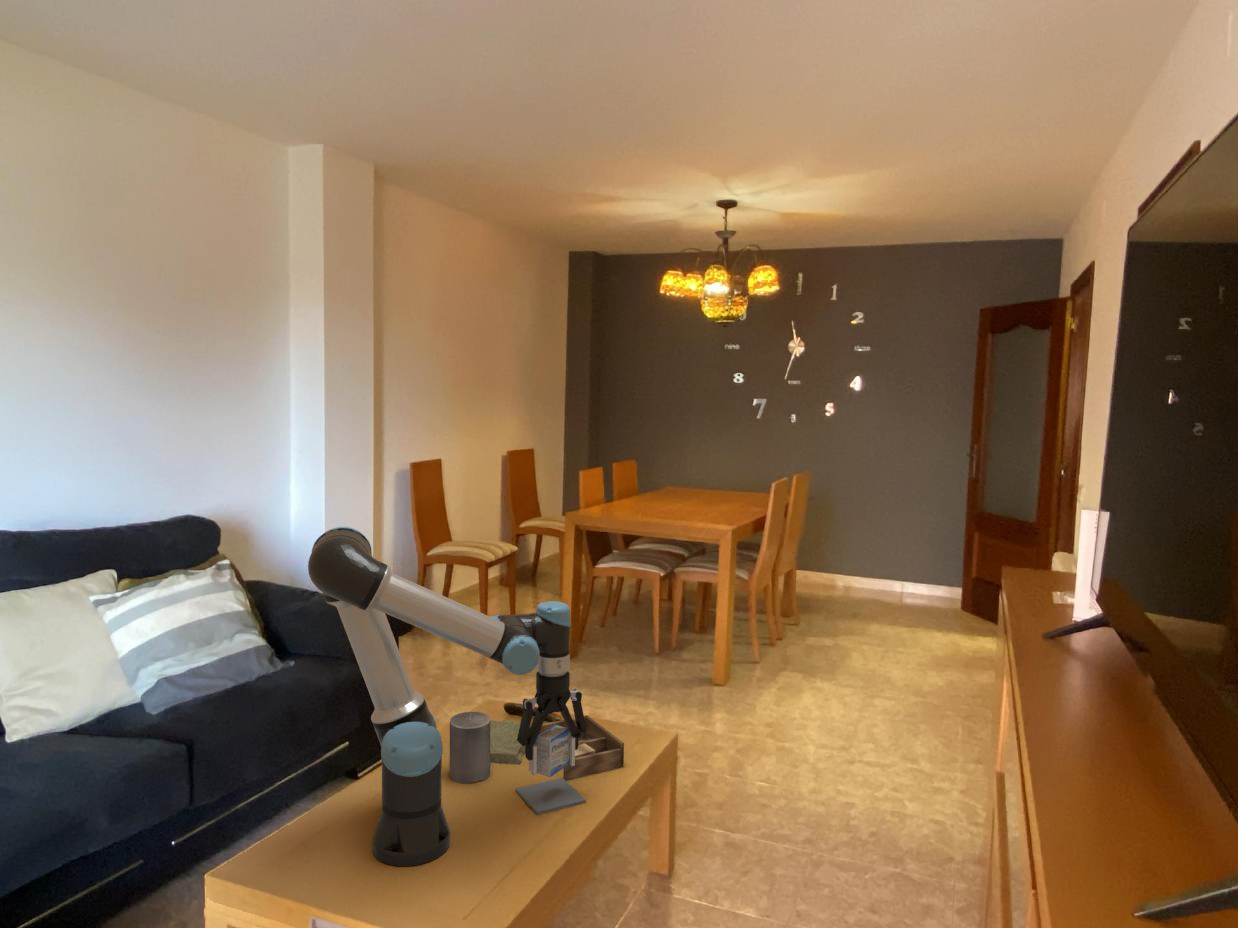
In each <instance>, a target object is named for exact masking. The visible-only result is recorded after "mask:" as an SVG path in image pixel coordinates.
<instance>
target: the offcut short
mask: <svg viewBox="0 0 1238 928" xmlns="http://www.w3.org/2000/svg"><path fill="white" fill-rule="evenodd" d="M591 754H595V750H594V749H593V748H591V747H590V746H588V745H587V744H585V743H584V744H580V745H578V749H577V750H575V758H578V757H582V756H587V755H591Z"/></svg>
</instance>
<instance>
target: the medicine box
mask: <svg viewBox="0 0 1238 928" xmlns="http://www.w3.org/2000/svg"><path fill="white" fill-rule="evenodd" d="M535 745H536V746H537V774H538V775H540V776H545V777H548V778H552V777H553V776H554V775H556V774H557V773H559V772H560V771H562V770H564V769H563V768H564V767H566V766H567V765H569V759H570V729H568V728H565V727H562V726H557V725H554V726H553V727H551V728H549V729H548V730H546V731H544V732H542V733H541V734H539V735H538V736H537V738H536V741H535Z"/></svg>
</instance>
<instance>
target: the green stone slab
mask: <svg viewBox="0 0 1238 928" xmlns="http://www.w3.org/2000/svg"><path fill="white" fill-rule="evenodd" d="M490 720H491V721H490V764H503V765H505V764H506V765H520V764H521V763H522V761H523V760H522V758H523V756H525V746H522V745H521V744H520V743H519V742H518V741H517V738H518V733H519V728H520V723H521V722H517V721H515V720H514V721H513V720H507V719H505V720H502V721H496V720H493V719H490ZM531 724H532V723H531ZM531 724H530V727H531Z"/></svg>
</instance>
